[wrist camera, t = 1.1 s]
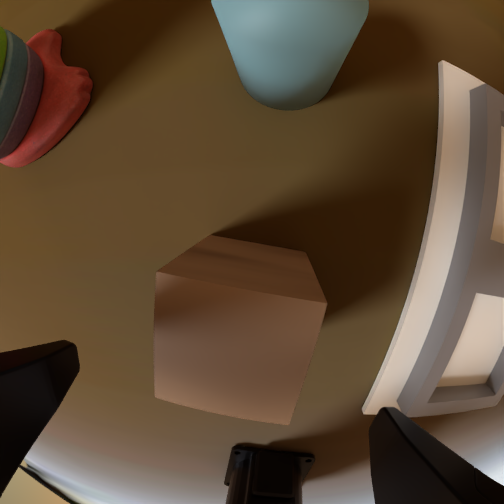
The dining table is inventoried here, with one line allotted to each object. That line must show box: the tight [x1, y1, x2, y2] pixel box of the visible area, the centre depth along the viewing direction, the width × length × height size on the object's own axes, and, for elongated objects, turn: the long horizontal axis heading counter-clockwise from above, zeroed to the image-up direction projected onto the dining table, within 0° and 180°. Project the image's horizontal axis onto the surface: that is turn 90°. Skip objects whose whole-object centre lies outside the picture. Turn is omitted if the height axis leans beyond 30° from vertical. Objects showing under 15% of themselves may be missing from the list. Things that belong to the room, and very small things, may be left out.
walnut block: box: [154, 235, 327, 425], centre depth 12 cm, size 5×5×7 cm
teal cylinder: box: [211, 0, 369, 110], centre depth 9 cm, size 5×5×7 cm
